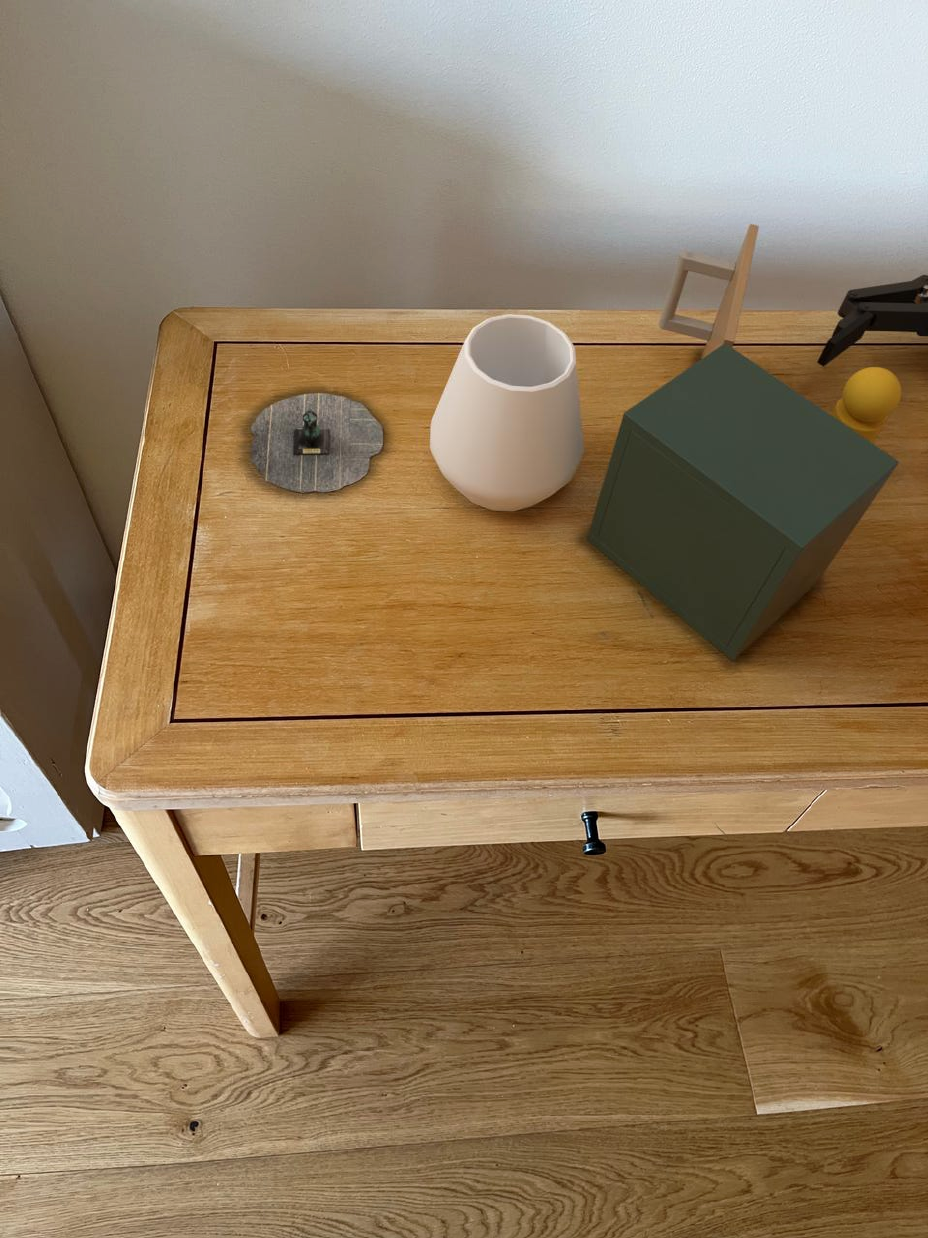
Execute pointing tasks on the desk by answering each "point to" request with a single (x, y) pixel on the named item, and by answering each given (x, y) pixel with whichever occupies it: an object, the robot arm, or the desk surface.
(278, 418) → the sculpture
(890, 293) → the robot arm
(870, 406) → the toy
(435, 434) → the white tapered cylinder
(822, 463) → the cabinet
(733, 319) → the cabinet door
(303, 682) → the desk surface
